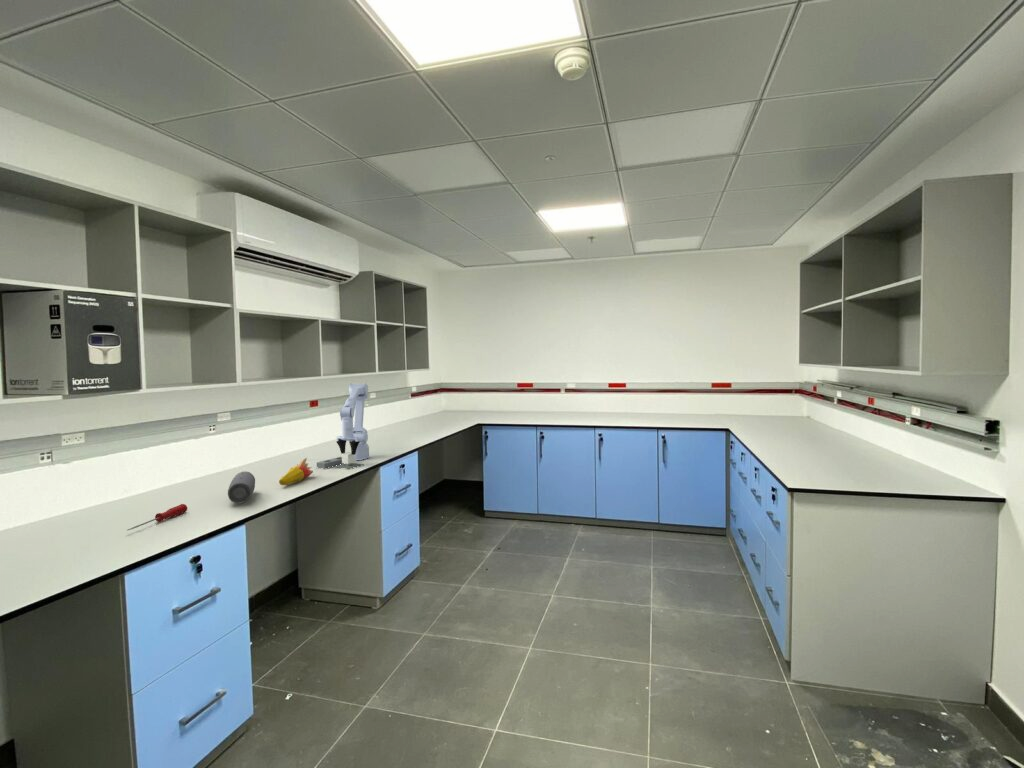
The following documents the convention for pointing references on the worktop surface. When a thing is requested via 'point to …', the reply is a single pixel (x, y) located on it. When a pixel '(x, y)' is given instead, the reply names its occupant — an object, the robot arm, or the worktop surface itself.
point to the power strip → (330, 462)
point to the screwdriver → (167, 514)
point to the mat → (348, 466)
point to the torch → (296, 473)
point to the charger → (348, 458)
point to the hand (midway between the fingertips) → (348, 453)
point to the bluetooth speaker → (241, 487)
